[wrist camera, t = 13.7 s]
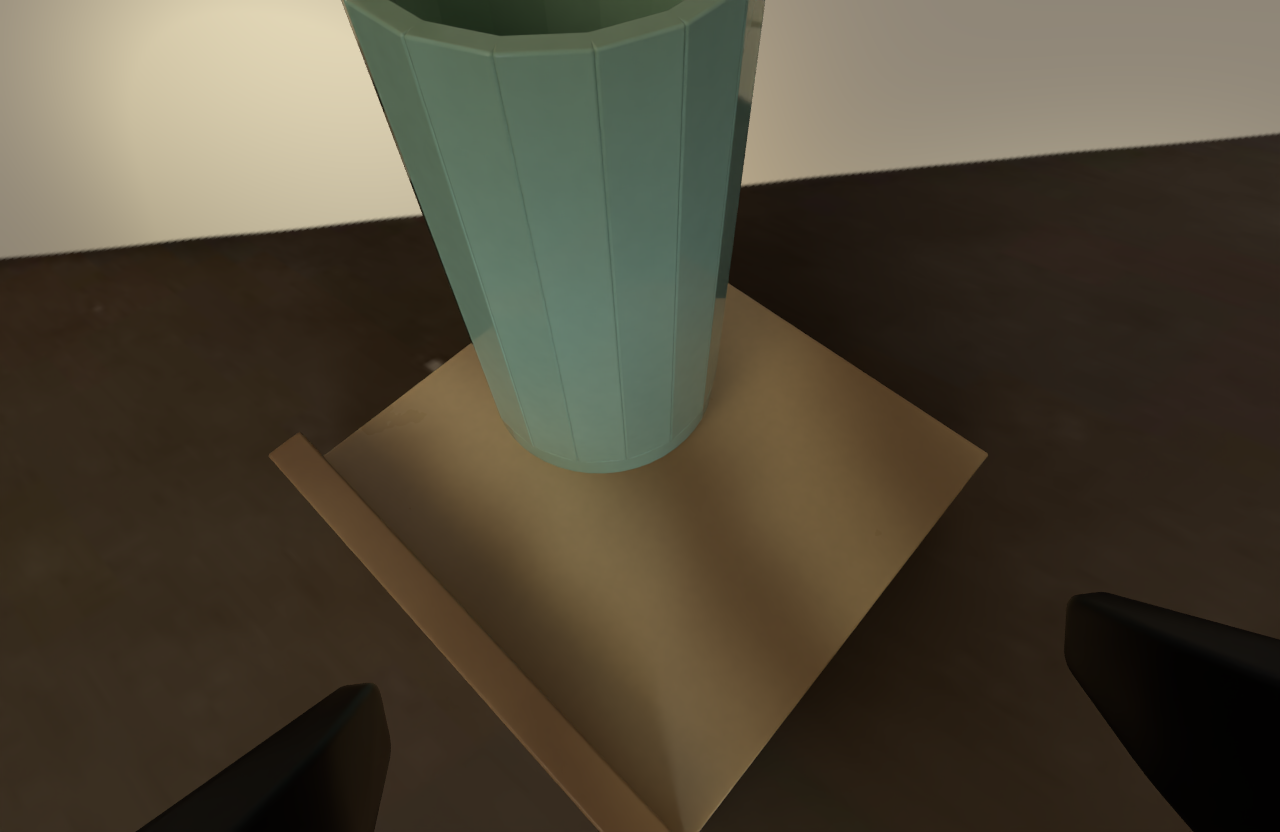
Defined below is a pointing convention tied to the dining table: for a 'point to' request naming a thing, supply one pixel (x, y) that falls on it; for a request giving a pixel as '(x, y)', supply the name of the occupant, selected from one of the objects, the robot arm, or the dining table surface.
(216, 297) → the dining table surface
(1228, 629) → the robot arm
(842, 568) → the shelf
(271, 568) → the dining table surface
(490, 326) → the cup
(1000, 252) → the dining table surface
